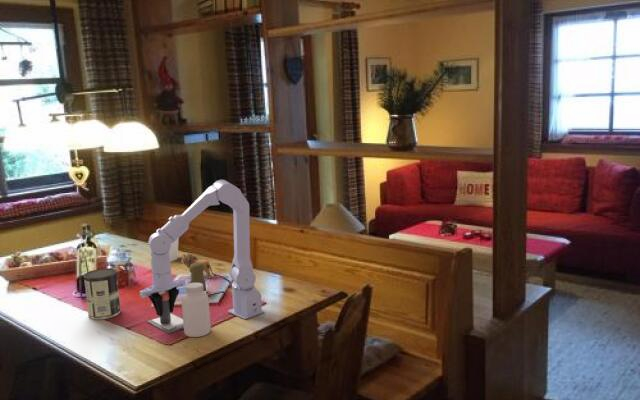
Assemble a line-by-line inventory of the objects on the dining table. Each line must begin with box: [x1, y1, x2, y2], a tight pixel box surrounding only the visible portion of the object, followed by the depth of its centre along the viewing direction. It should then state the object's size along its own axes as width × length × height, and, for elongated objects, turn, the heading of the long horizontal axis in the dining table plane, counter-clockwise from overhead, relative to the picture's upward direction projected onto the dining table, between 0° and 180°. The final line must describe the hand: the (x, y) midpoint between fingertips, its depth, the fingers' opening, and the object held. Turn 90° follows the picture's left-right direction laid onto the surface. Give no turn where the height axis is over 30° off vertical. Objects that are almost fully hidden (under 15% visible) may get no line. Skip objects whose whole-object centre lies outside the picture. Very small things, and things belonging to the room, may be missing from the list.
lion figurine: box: [180, 252, 218, 277], centre depth 225 cm, size 15×5×9 cm, turn 74°
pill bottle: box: [180, 282, 212, 338], centre depth 173 cm, size 8×8×15 cm
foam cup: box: [155, 229, 180, 262], centre depth 248 cm, size 10×9×13 cm
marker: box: [159, 291, 171, 324], centre depth 178 cm, size 3×3×10 cm
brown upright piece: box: [188, 263, 207, 292], centre depth 206 cm, size 6×6×11 cm
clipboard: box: [146, 312, 184, 335], centre depth 181 cm, size 13×9×1 cm
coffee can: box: [83, 267, 122, 321], centre depth 189 cm, size 10×10×14 cm
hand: (165, 313), depth 178 cm, fingers closed on marker, 3 cm apart
